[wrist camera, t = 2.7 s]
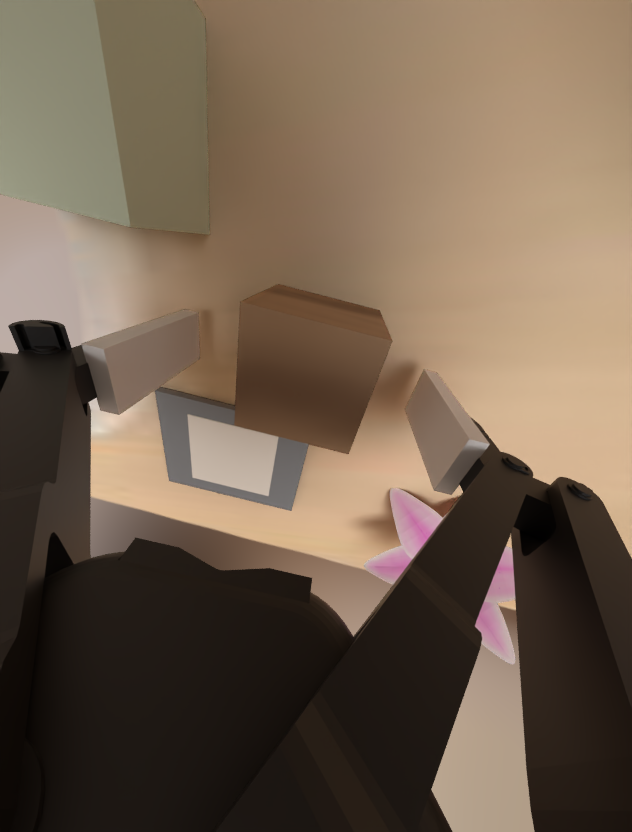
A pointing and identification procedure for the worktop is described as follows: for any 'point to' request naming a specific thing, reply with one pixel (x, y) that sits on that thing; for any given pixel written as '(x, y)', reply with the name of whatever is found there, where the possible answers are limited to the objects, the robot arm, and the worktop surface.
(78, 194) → the sage block
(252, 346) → the walnut block
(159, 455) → the worktop surface
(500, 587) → the lily
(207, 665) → the robot arm
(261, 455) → the slate build plate
